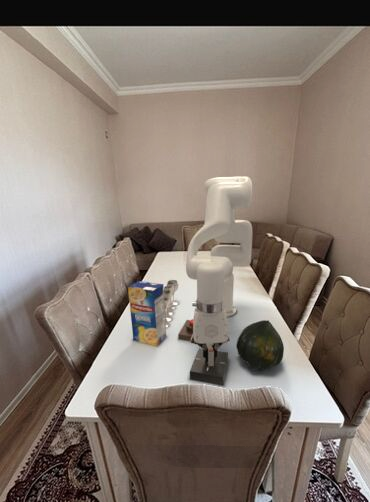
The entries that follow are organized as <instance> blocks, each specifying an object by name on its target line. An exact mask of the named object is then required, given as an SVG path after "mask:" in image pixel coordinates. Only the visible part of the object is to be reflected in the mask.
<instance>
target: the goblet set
mask: <svg viewBox="0 0 370 502" xmlns="http://www.w3.org/2000/svg"><path fill="white" fill-rule="evenodd" d="M163 287H164V304H165V322H166V329H167V328H168V327H169V323H167V322H171V321H172V318H171V317H170V316H172V315H174V312H173V311H174V310H175V309H176V307H175V306H177V305H178V304H179V302H178V301H175V299H174V298H175V297H174V296H175V293H176V292H177V291H178V289H179V282H178V281H177V280H176V279H169V280H168V281H167V282H166V285H165V286H163ZM167 310H168V311H167Z"/></svg>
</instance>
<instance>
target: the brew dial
mask: <svg viewBox="0 0 370 502" xmlns="http://www.w3.org/2000/svg"><path fill="white" fill-rule="evenodd" d="M206 345H207V348H208V366H214V351H213V347H212V345H213V343H206Z"/></svg>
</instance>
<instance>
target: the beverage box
mask: <svg viewBox="0 0 370 502" xmlns="http://www.w3.org/2000/svg"><path fill="white" fill-rule="evenodd" d="M164 287H165V286H164V284H163V283H157V282H149V281H141V280H138V281H136V282H134V283H132V284H130V285H128V286H127V292H128V301H129V310H130V311H129V312H130V321H131V331H132V340H133V341H136V342H139V343H144V344H148V345H152V346H156V347H158V346H159V345H160V344H161V343H162V342H163V341H164V340H165V339H166V338H167V328H166V323H167V322H165V317H166V315H165V304H164Z"/></svg>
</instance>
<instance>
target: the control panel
mask: <svg viewBox="0 0 370 502" xmlns="http://www.w3.org/2000/svg"><path fill="white" fill-rule="evenodd" d="M228 362H229V352H228V351H220V350H217V357H215V361H214V366H208V362H206V359H205V358H203V349H202V348H201V347H200V348H198V350H197V352H196V355H195V356H194V359H193V362H192V363H191V364H192V365H191V367H190V369H189V380H191V381H197V382H202V383H207V384H212V385H219V386H224V384H225V377H226V374H227V368H228Z"/></svg>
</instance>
